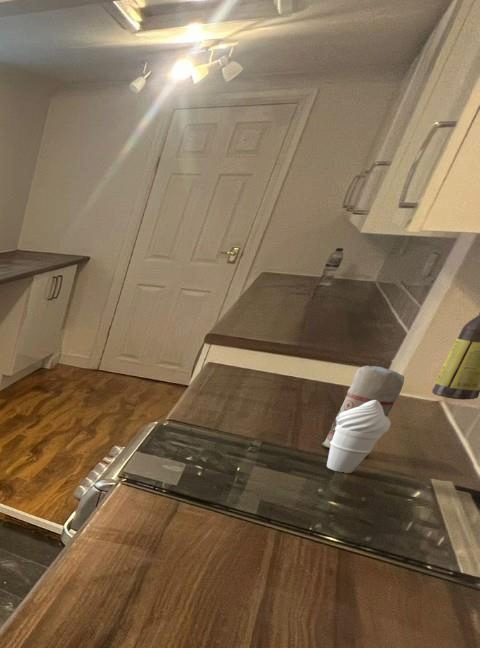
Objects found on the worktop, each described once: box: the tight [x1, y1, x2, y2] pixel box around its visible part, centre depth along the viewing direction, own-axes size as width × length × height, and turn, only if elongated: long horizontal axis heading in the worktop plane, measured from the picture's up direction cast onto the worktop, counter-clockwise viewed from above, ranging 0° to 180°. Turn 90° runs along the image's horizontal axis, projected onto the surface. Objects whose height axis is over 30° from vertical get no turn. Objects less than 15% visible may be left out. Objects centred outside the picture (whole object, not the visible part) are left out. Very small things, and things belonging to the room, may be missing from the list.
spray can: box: [321, 365, 405, 449], centre depth 134 cm, size 8×8×20 cm
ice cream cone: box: [326, 400, 392, 474], centre depth 124 cm, size 8×8×16 cm
